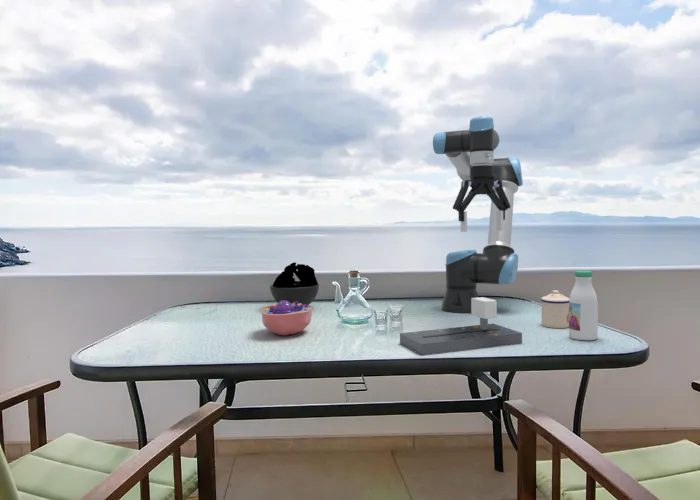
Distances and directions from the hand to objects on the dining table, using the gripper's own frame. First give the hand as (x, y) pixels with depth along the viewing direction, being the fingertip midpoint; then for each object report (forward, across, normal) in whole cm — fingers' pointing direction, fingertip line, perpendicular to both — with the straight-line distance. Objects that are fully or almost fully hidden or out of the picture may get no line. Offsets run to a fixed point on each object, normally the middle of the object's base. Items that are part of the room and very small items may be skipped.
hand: (482, 231), depth 166 cm
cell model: (+32, -62, +18) cm, 72 cm away
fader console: (+32, -18, -16) cm, 40 cm away
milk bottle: (+32, +18, -25) cm, 44 cm away
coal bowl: (+32, -50, +60) cm, 84 cm away
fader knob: (+28, -10, -16) cm, 34 cm away
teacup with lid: (+32, +23, -7) cm, 40 cm away
